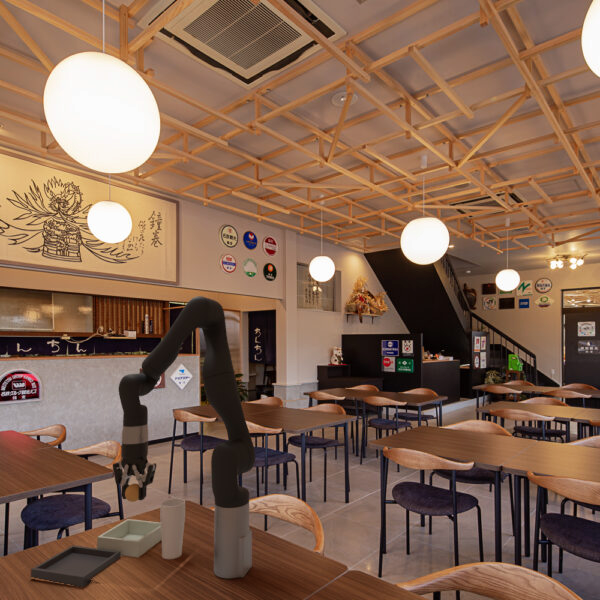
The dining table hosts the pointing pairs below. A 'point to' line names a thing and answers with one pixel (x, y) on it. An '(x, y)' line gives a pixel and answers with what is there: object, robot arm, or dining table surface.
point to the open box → (131, 537)
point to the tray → (75, 565)
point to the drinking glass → (172, 527)
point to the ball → (132, 492)
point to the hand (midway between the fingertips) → (133, 498)
